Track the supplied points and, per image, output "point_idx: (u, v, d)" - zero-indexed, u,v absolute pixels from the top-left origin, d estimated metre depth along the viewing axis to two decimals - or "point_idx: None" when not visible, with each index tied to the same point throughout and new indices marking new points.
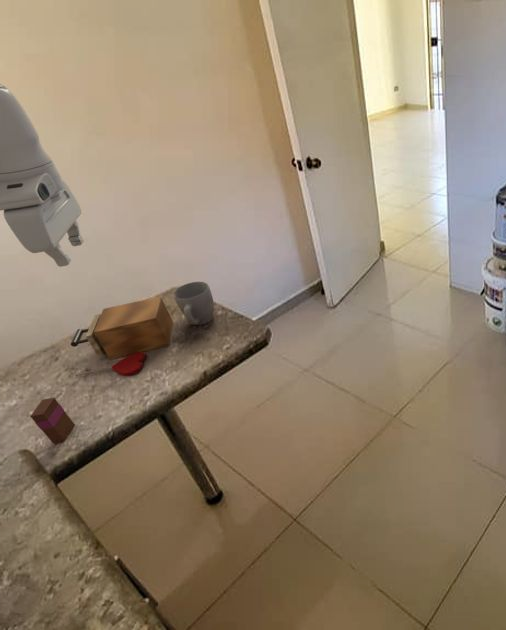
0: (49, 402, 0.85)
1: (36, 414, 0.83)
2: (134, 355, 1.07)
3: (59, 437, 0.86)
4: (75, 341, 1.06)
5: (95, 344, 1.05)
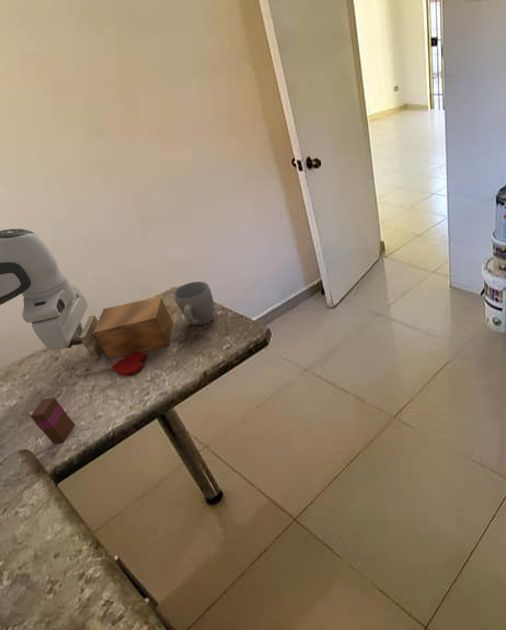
0: (49, 402, 0.85)
1: (36, 414, 0.83)
2: (134, 355, 1.07)
3: (59, 437, 0.86)
4: None
5: (89, 345, 1.05)
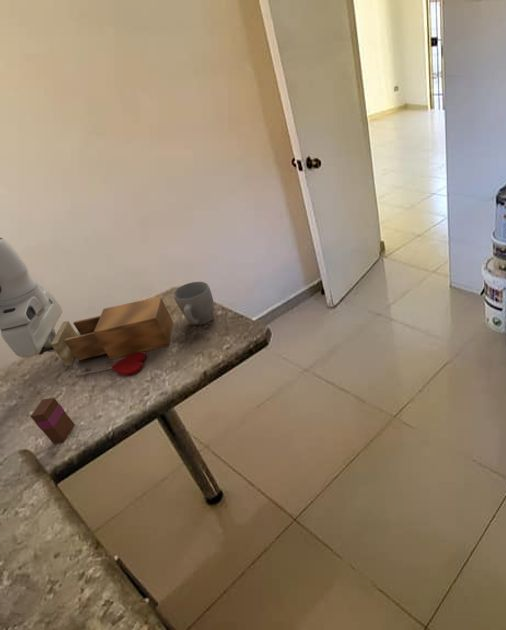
0: (49, 402, 0.85)
1: (36, 414, 0.83)
2: (134, 355, 1.07)
3: (59, 437, 0.86)
4: (41, 349, 1.04)
5: (61, 352, 1.04)
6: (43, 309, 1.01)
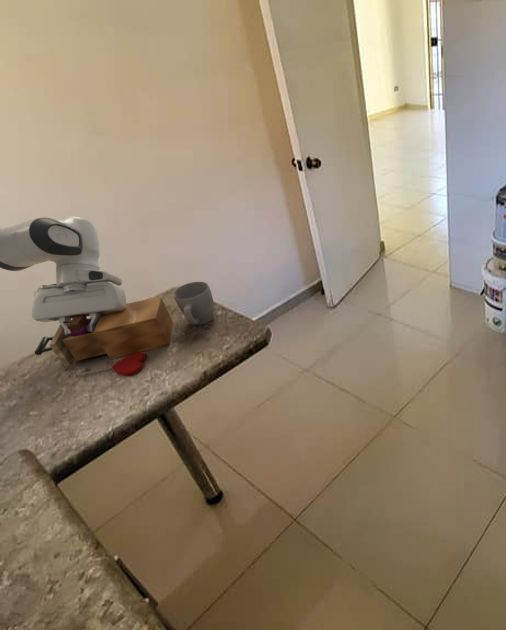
0: (81, 317, 1.06)
1: (71, 324, 1.04)
2: (134, 355, 1.07)
3: None
4: (39, 349, 1.04)
5: (60, 352, 1.03)
6: None
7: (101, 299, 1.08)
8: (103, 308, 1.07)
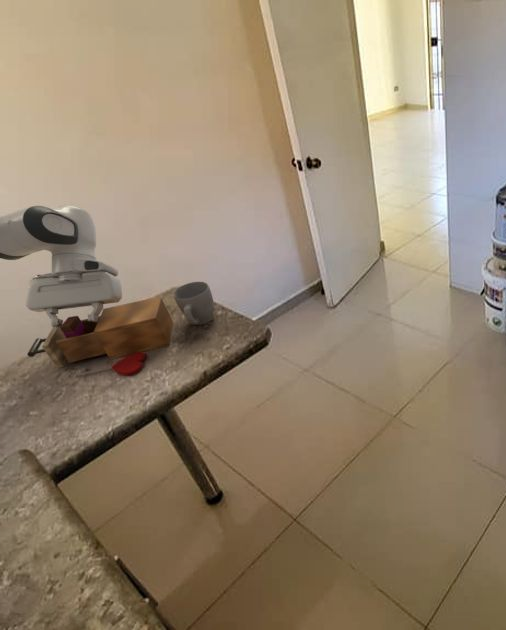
0: (74, 318, 1.06)
1: (64, 326, 1.04)
2: (134, 355, 1.07)
3: None
4: (32, 351, 1.03)
5: (52, 354, 1.03)
6: None
7: (97, 289, 1.06)
8: (98, 298, 1.06)
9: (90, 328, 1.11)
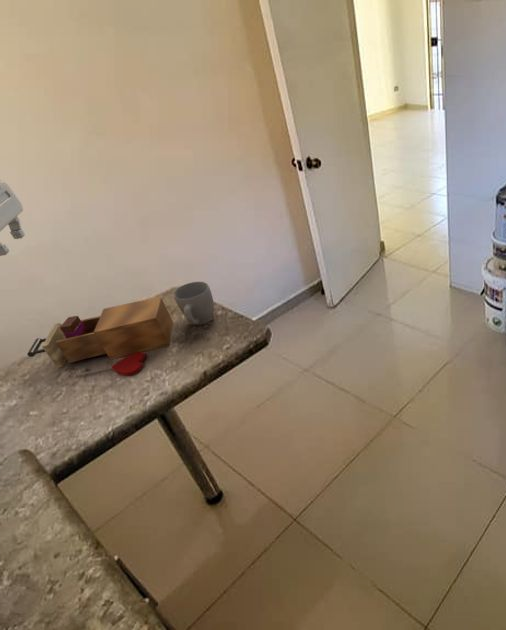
0: (74, 318, 1.06)
1: (64, 326, 1.04)
2: (134, 355, 1.07)
3: None
4: (32, 351, 1.03)
5: (52, 354, 1.03)
6: None
7: None
8: None
9: (90, 328, 1.11)
